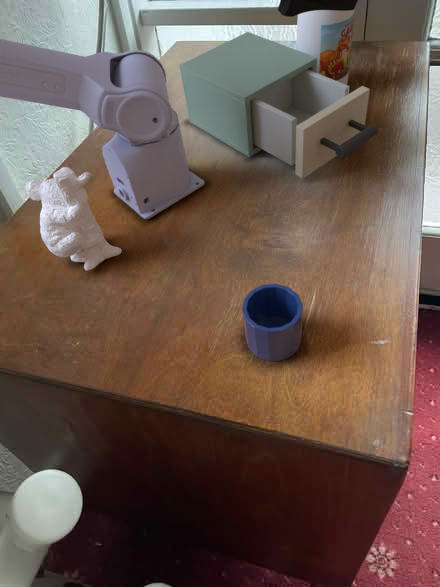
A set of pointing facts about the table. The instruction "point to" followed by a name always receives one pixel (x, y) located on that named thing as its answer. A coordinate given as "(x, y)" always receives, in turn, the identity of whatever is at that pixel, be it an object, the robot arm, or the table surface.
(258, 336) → the cup
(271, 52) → the mint green cabinet
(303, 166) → the drawer
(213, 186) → the table surface
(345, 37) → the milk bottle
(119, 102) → the robot arm
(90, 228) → the koala figurine
